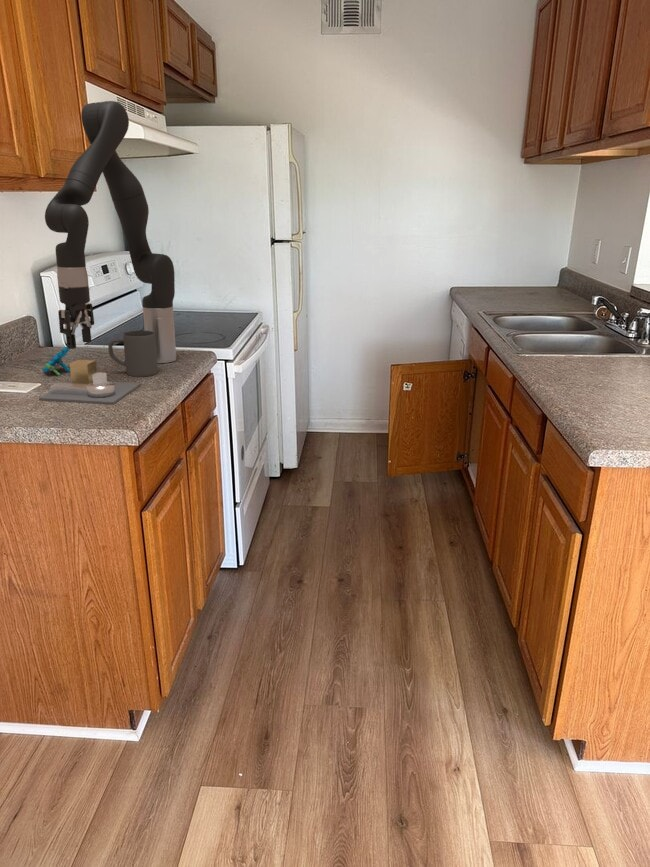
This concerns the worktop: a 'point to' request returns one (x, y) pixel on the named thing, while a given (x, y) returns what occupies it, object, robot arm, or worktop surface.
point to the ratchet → (87, 387)
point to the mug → (138, 353)
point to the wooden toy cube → (83, 371)
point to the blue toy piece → (57, 359)
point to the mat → (120, 392)
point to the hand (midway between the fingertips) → (79, 345)
